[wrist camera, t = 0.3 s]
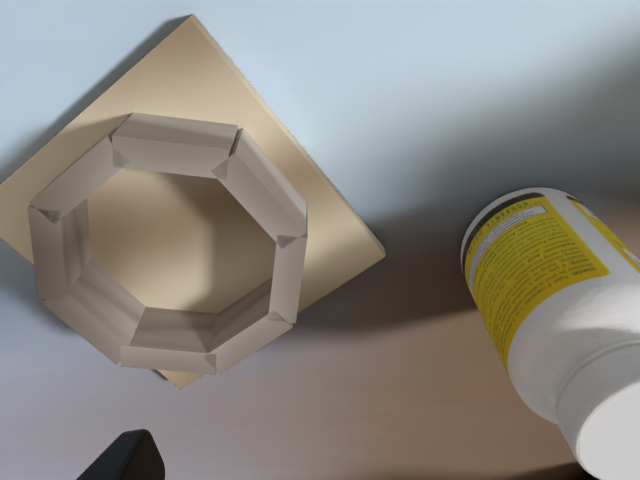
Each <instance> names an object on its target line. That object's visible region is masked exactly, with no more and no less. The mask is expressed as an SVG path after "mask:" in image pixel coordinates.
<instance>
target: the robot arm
mask: <svg viewBox="0 0 640 480" xmlns="http://www.w3.org/2000/svg"><path fill="white" fill-rule="evenodd" d="M76 480H165V467H164V463H163V460H162V458H161V455H160V453H159V451H158V449H157V446H156V444H155V442H154V440H153V437H152V435H151V433H150V432H149V431H148V430H146V429H140V430H133V431H127V432H124V433H122V434H121V435H120V436H119V437H118V438H117V439H116V440H115V441H114V442H113V443H112V444H111V445H110V446H109V447H108V448H107V449H106V450H105V451H104V452H103V453H102V454H101V455H100V456H99V457H98V458H97V459H96V460H95V461H94V462H93V463H92V464H91V465H90V466H89V467H88V468H87V469H86V470H85V471H84V472H83V473H82V474H81V475H80V476H79V477H78V478H77V479H76ZM586 480H600V479H598V478H596V477H594V476H593V477H591V478H588V479H586Z"/></svg>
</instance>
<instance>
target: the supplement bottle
mask: <svg viewBox="0 0 640 480" xmlns="http://www.w3.org/2000/svg"><path fill="white" fill-rule="evenodd" d="M460 257H461V268H462V272H463V275H464V278H465V281H466V284H467V286H468V288H469V290H470V292H471V294H472V297H473V299H474V301H475V303H476V305H477V307H478V310H479V312H480V314H481V316H482V319H483V321H484V323H485V325H486V328H487V330H488V332H489V334H490V336H491V338H492V341H493V343H494V345H495V347H496V349H497V352H498V354H499V356H500V359H501V361H502V363H503V365H504V367H505V369H506V372H507V374H508V376H509V378H510V380H511V382H512V384H513V386H514V387H515V389H516V391H517V393H518V394H519V396H520V398H521V399H522V400H523V402H524V403H525V404H526V405H527V406H528V407H529V408H530V409H531V410H532V411H534V412H535V413H536V414H538V415H539V416H541V417H542V418H544V419H546V420H548V421H550V422H552V423H554V424H557V425H559V428H560V431H561V433H562V434H563V436H564V438H565V439H566V441H567V443H568V445H569V446H570V448H571V450H572V452H573V454H574V456H575V458H576V460H577V461H578V463H579V464H580V465H581V467H582V468H583V469H584V470H585V471H587V472H588V473H589V474H591V475H592V476H594V477H596V478H598V479H600V480H640V260H639V259H638V258H637V257H636V256H635V255H634V254H633V253H632V252H631V251H630V250H629V249H628V248H627V247H626V246H625V245H624V244H623V243H622V242H621V241H620V240H619V239H618V238H617V237H616V236H615V235H614V234H613V233H612V232H611V231H610V230H609V229H608V228H607V226H606V225H605V224H604V223H603V222H602V221H601V220H600V219H599V218H598V217H597V216H596V215H595V214H593V213H592V212H591V211H590V210H589V209H588V208H587V207H586V206H585V205H584V204H583V203H582V202H580V201H579V200H578V199H577V198H575V197H573V196H572V195H570V194H568V193H565V192H563V191H560V190H557V189H552V188H542V187H538V188H526V189H522V190H518V191H515V192H511V193H509V194H506V195H504V196H502V197H500V198H498V199H496V200H495V201H493V202H492V203H490V204H489V205H488V206H486V207H485V208H484V209H483V210H482V211H481V212H480V213H479V214H478V215H477V216H476V217H475V219H474V220H473V221H472V223H471V224H470V226H469V228H468V229H467V231H466V233H465V236H464V239H463V242H462V247H461V256H460Z"/></svg>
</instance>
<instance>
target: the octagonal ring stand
mask: <svg viewBox="0 0 640 480" xmlns="http://www.w3.org/2000/svg"><path fill="white" fill-rule="evenodd" d="M0 238H2V239H3V240H4V241H5V242H6V243H8V244H9V245H10V246H11V247H12V248H13V249H15V250H16V251H17V252H18V253H19V254H21V255H22V256H23V257H24V258H25V259H26V260H28V261H29V262H30V263H31V264H32V265H34V268H35V276H36V285H37V293H38V298H40V299H44V300H43V301H42V303H41V304H43V305H44V306H45V307H46V308H48V309H49V310H50V311H51V312H52V313H54V314H55V315H56V316H57V317H59V318H60V319H61V320H62V321H63V322H65V323H66V324H67V325H68V326H70V327H71V328H72V329H73V330H74V331H76V332H77V333H78V334H79V335H81V336H82V337H83V338H84V339H85V340H87V341H88V342H89V343H90V344H92V345H93V346H94V347H95V348H96V349H98V350H99V351H100V352H101V353H103V354H104V355H105V356H106V357H107V358H109V359H110V360H111V361H112V362H113V363H115V364H117V363H118V362H120V361H121V367H132V368H144V369H155V370H158V371H159V372H160V373H161V374H162V375H164V376H165V377H166V378H167V379H168V380H170V381H171V382H172V383H173V384H174V385H175V386H177V387H178V388H179V389H182V388H183V387H185V386H186V385H188V384H189V383H191V382H192V381H194V380H196V379H197V378H199V377H200V376H202V375H203V374H211V375H215V374H216V370H217V371H218V372H219V373H220V374H221V373H222V372H224V371H226V370H227V369H229V368H230V367H232V366H233V365H235V364H237V363H238V362H240V361H241V360H243V359H244V358H246V357H248V356H249V355H251V354H252V353H254V352H255V351H257V350H258V349H260V348H262V347H263V346H265V345H266V344H268V343H269V342H271V341H273V340H274V339H276V338H277V337H279V336H280V335H282V334H283V333H285V332H287V331H288V330H290V329H291V328H293V323H296V317H297V314H298V313H299V312H301V311H302V310H304V309H305V308H307V307H309V306H310V305H312V304H313V303H315V302H316V301H318V300H319V299H321V298H322V297H324V296H326V295H327V294H329V293H330V292H332V291H333V290H335V289H336V288H338V287H339V286H341V285H343V284H344V283H346V282H347V281H349V280H350V279H352V278H353V277H355V276H356V275H358V274H360V273H361V272H363V271H364V270H366V269H367V268H369V267H370V266H372V265H374V264H375V263H377V262H378V261H380V260H381V259H383V258H384V257H386V254H385V250H384V246H383V245H382V244H381V243H380V241H379V240H378V239H377V238H376V237H375V235H374V234H373V233H372V232H371V230H370V229H369V228H368V227H367V226H366V224H365V223H364V222H363V221H362V219H361V218H360V217H359V216H358V215H357V213H356V212H355V211H354V210H353V208H352V207H351V206H350V205H349V204H348V202H347V201H346V200H345V199H344V197H343V196H342V195H341V194H340V193H339V191H338V190H337V189H336V188H335V186H334V185H333V184H332V183H331V182H330V180H329V179H328V178H327V177H326V175H325V174H324V173H323V172H322V171H321V169H320V168H319V167H318V166H317V164H316V163H315V162H314V161H313V160H312V158H311V157H310V156H309V155H308V153H307V152H306V151H305V150H304V149H303V147H302V146H301V145H300V144H299V142H298V141H297V140H296V139H295V138H294V136H293V135H292V134H291V133H290V132H289V130H288V129H287V128H286V127H285V125H284V124H283V123H282V122H281V121H280V119H279V118H278V117H277V116H276V114H275V113H274V112H273V111H272V110H271V108H270V107H269V106H268V105H267V103H266V102H265V101H264V100H263V99H262V97H261V96H260V95H259V94H258V92H257V91H256V90H255V89H254V88H253V86H252V85H251V84H250V83H249V81H248V80H247V79H246V78H245V77H244V75H243V74H242V73H241V72H240V70H239V69H238V68H237V67H236V66H235V64H234V63H233V62H232V61H231V59H230V58H229V57H228V56H227V55H226V53H225V52H224V51H223V50H222V48H221V47H220V46H219V45H218V44H217V42H216V41H215V40H214V39H213V37H212V36H211V35H210V34H209V33H208V31H207V30H206V29H205V28H204V26H203V25H202V24H201V23H200V22H199V20H198V19H197V18H196V17H195V15H194V14H193V15H191V16H190V17H188V18H187V19H186V20H185V21H184V22H183V23H182V24H181V25H179V26H178V27H177V28H176V29H175V30H174V31H173V32H172V33H170V34H169V35H168V36H167V37H166V38H165V39H164V40H163V41H161V42H160V43H159V44H158V45H157V46H156V47H155V48H154V49H152V50H151V51H150V52H149V53H148V54H147V55H146V56H145V57H143V58H142V59H141V60H140V61H139V62H138V63H137V64H136V65H134V66H133V67H132V68H131V69H130V70H129V71H128V72H127V73H125V74H124V75H123V76H122V77H121V78H120V79H119V80H118V81H116V82H115V83H114V84H113V85H112V86H111V87H110V88H109V89H107V90H106V91H105V92H104V93H103V94H102V95H101V96H100V97H98V98H97V99H96V100H95V101H94V102H93V103H92V104H91V105H89V106H88V107H87V108H86V109H85V110H84V111H83V112H82V113H80V114H79V115H78V116H77V117H76V118H75V119H74V120H73V121H71V122H70V123H69V124H68V125H67V126H66V127H65V128H64V129H62V130H61V131H60V132H59V133H58V134H57V135H56V136H54V137H53V138H52V139H51V140H50V141H49V142H48V143H47V144H45V145H44V146H43V147H42V148H41V149H40V150H39V151H38V152H36V153H35V154H34V155H33V156H32V157H31V158H30V159H29V160H27V161H26V162H25V163H24V164H23V165H22V166H21V167H20V168H18V169H17V170H16V171H15V172H14V173H13V174H12V175H11V176H9V177H8V178H7V179H6V180H5V181H4V182H3V183H2V184H0Z"/></svg>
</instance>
